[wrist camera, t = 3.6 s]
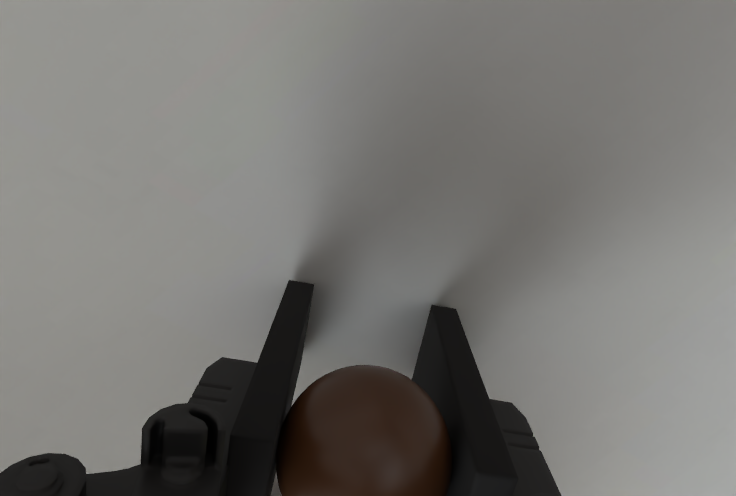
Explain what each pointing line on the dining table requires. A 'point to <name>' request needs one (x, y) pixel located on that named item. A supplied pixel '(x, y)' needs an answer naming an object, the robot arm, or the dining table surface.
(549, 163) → the dining table surface
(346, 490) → the lever
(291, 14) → the dining table surface
